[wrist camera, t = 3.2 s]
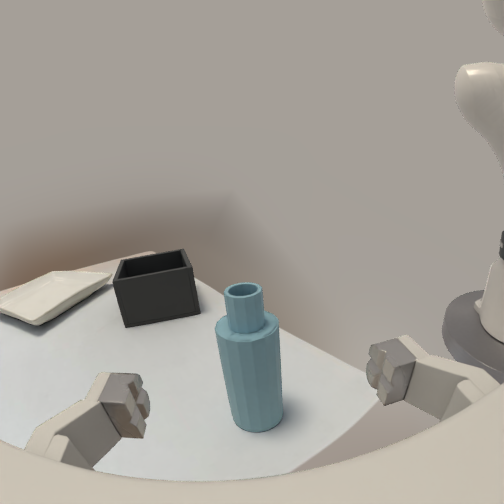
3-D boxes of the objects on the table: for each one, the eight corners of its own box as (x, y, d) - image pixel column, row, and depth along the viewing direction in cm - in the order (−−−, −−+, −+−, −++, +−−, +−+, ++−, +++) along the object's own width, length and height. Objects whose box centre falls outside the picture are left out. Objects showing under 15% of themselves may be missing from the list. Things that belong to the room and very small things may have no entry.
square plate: (39, 337, 39) (31, 319, 38) (-9, 317, 45) (-14, 303, 44) (116, 285, 64) (112, 270, 63) (55, 281, 71) (52, 269, 70)
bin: (190, 286, 60) (183, 248, 58) (200, 313, 48) (192, 266, 45) (130, 298, 56) (121, 259, 54) (125, 327, 44) (112, 281, 41)
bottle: (271, 392, 28) (261, 273, 24) (291, 422, 23) (287, 294, 19) (227, 405, 26) (204, 284, 23) (241, 438, 22) (218, 310, 18)
